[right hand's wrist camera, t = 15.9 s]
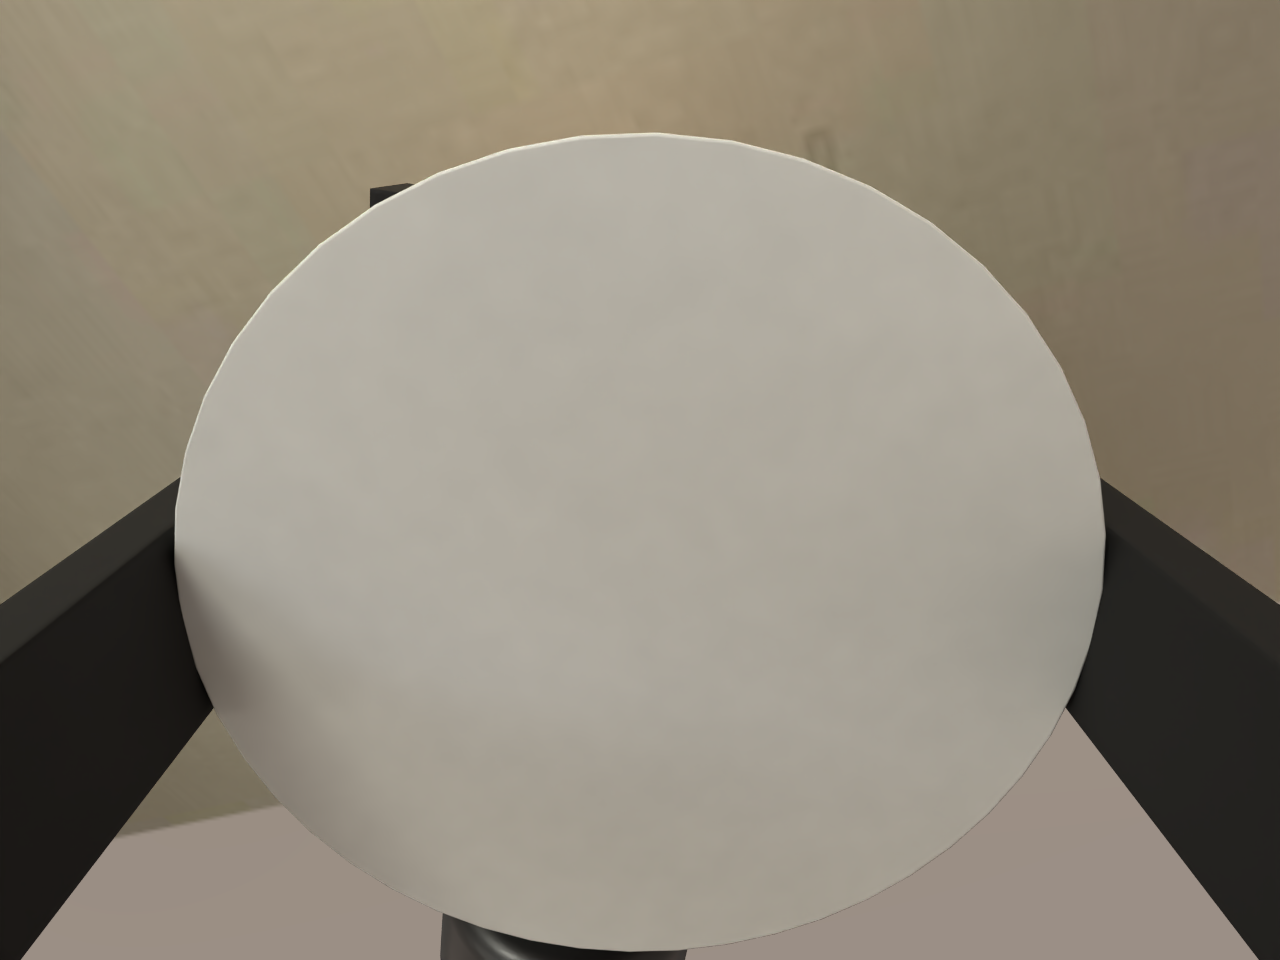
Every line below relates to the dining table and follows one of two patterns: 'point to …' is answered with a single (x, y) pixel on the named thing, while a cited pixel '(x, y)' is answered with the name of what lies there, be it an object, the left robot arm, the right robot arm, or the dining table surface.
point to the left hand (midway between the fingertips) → (666, 225)
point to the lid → (639, 542)
